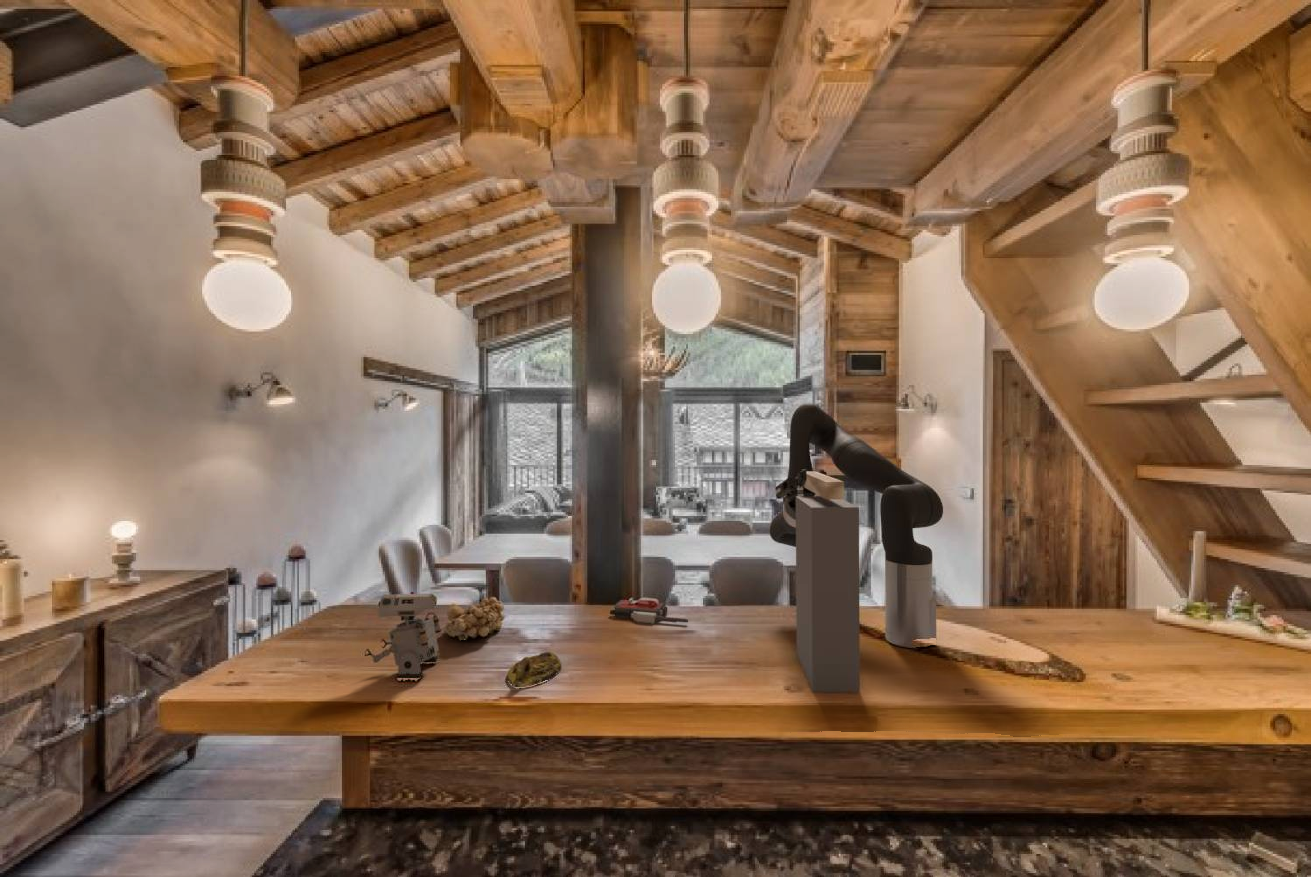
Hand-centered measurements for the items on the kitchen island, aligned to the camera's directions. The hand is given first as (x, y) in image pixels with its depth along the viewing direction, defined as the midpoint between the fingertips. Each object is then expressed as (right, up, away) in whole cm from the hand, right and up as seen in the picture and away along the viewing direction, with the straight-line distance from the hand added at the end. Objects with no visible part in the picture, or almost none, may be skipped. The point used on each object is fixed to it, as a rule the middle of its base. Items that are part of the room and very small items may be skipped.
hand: (813, 473), depth 119 cm
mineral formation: (-73, -37, +12) cm, 83 cm away
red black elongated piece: (-33, -37, +24) cm, 55 cm away
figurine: (-79, -38, -7) cm, 88 cm away
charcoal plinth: (0, -36, -9) cm, 38 cm away
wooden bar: (0, -3, -6) cm, 7 cm away
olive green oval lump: (-55, -38, -7) cm, 67 cm away
